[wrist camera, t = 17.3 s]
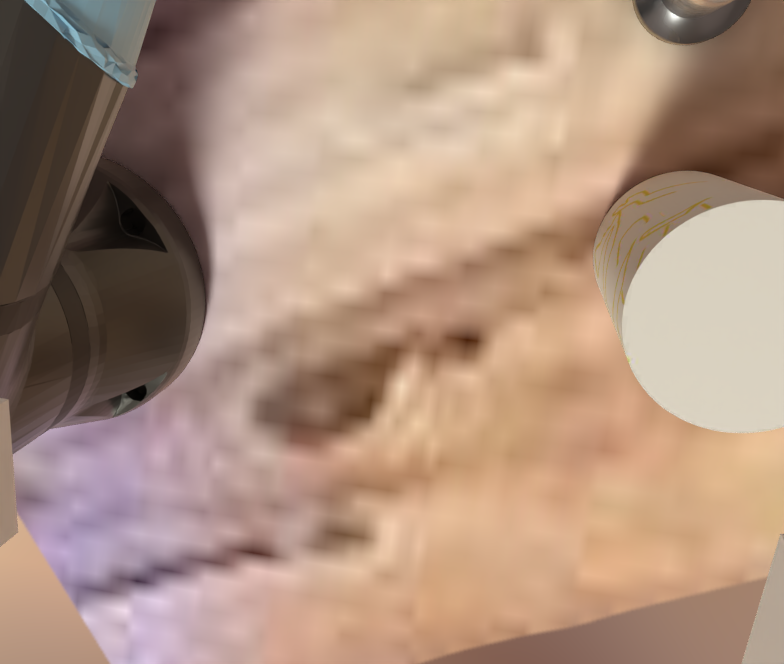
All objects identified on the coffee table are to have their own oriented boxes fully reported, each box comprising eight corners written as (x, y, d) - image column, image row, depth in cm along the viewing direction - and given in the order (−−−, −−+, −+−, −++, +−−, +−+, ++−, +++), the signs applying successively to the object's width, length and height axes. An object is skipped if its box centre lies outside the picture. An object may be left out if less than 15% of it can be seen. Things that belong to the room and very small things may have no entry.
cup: (634, 146, 35) (685, 164, 23) (800, 204, 34) (934, 251, 23) (567, 301, 37) (584, 383, 26) (720, 357, 37) (805, 466, 26)
